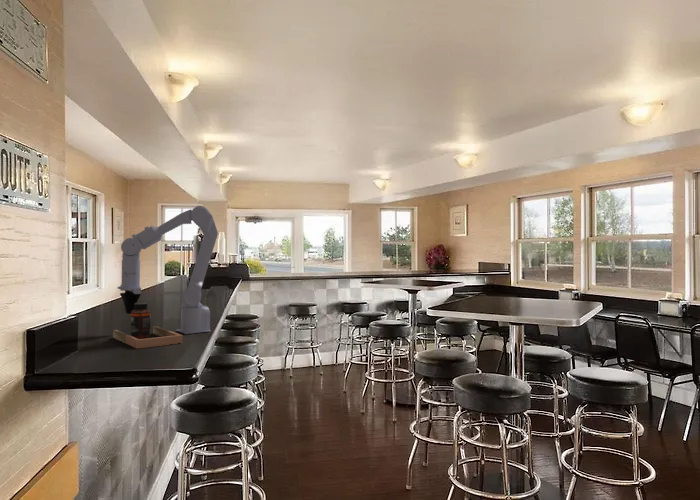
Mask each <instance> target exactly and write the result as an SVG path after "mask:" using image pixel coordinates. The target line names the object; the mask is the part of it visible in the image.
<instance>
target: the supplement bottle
mask: <svg viewBox="0 0 700 500" xmlns="http://www.w3.org/2000/svg"><path fill="white" fill-rule="evenodd" d="M148 307H149V306H148V303H147V302H137V303H135V304H134V310H132V312H131V314H130V336H133V337H135V338H137V339H147V338H151V310H150V309H149V308H148Z"/></svg>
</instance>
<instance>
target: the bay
mask: <svg viewBox="0 0 700 500" xmlns="http://www.w3.org/2000/svg"><path fill="white" fill-rule="evenodd" d="M152 334H153V335H155V336H156V337H149V338H145V339H137V338H135V337H133V336H131V334H130V335H129V334H128V333H125V332H123V331H120V330H118V329H113V330H112V337H113V338H114V339H115V340H117V341H119V342H121V341H122V342H121V343H124V344H126V345H129V346H131V347H133V348H134V349H138V350H139V349H145V348H153V347H162V346H163V345H164V346H171V345H170V344H172V345H179V344H178V343H181V344H183V343H184V340H183V339H184V335H183V334H182V333H181V334H180V333H179V332H175V331H172V330H168V329H165V328H163V327H160V326H157V325H155V326H154V325H153V326H152ZM157 336H158V337H157ZM164 346H163V347H164Z"/></svg>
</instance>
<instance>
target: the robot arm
mask: <svg viewBox="0 0 700 500" xmlns="http://www.w3.org/2000/svg"><path fill="white" fill-rule="evenodd" d="M192 221H193V223H194V224H195V225H196V226H198V227H199V229H200V231H201V233H202V234H203V238H202V241H201V244H200V246H199V247H200V248H199V250H198V253H197V256H196V260H195V263H194V267H193V269H192V270H193V271H192V273H191V276H190V280H189V282H188V286H187V288H185V290H184V291H183V294H182V296H181V299H182V304H181V305H180V308H181V309H180V329H179V328H178V329H175V331H176V332H177V333H181V334H184V335H188V334H199V333H207V332H211V331H212V330H211V311H210V308H209V306H207V305H203V303H201V301H202V287H203V285H204V281H205V277H206V275H207V271H208V267H209V264H210V261H211V258H212V255H213V251H214V248H215V245H216V242H217V238H218V234H219V233H218V229H217V227H216V223H215V220H214V216H213V215H212V213H211V212H210V210H209V209H208V208H206V207H205V206H202V205H198V206H195V207H193V208H192V209H188V210H185V211H183V212H181V213H179V214H178V215H176V216H174V217H173V218H170V219H169V220H168V221H165V222H164V223H162V224H160V225H159V226H154V225H151V226H148V225H147V226H145V227H144V230H141V231H139V233H137V234H135V233H134V234H132V235H131V237H127V238H126V239H124V241H122V243H121V245H120V248H121V251H122V255H121V257H122V260H121V283H120V286H117V289H118V290H120V291H121V292H120V293H119V294H120V297H121V299H122V302H123V305H124V309H125V313H126V315H128V314H129V315H131V312H132V310H134V304H135V303H138V301H139V298H140V297H141V295H142V287H141V286H140V285H141V284H140V281H141V279H140V278H141V260H140V253H141V251H142V250H146V249H148V248H150V247H151V246H153V245H155V244H157V243H159V242H160V241H161V240H162V237H163V235H165V234H167V233H169V232H170V231H172V230H175V229H176V228H178V227H180V226H182V225H192V224H193V223H192Z"/></svg>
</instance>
